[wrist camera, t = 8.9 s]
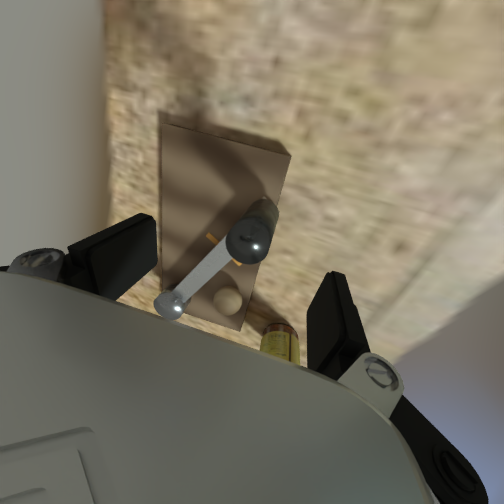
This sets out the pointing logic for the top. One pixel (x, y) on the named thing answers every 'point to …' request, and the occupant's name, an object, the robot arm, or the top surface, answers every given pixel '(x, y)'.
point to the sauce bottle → (281, 343)
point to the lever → (224, 256)
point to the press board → (212, 213)
